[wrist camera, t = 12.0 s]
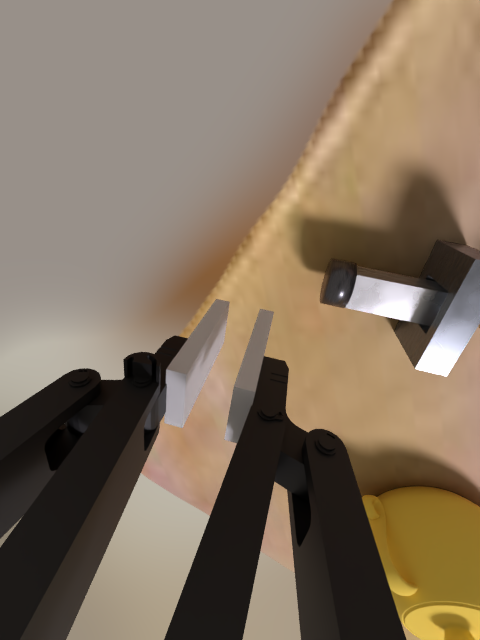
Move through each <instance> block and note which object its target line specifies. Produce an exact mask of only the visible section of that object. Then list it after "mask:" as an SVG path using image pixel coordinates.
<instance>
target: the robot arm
mask: <svg viewBox="0 0 480 640" xmlns="http://www.w3.org/2000/svg"><path fill="white" fill-rule="evenodd" d="M229 303H230V302H228V301H223V300H219V299H216V300H215V302H214V303H213V304H212V306H211V307H210V309H209V310H208V311H207V313H206V314H205V316H204V317H203V318H202V320H201V321H200V323H199V324H198V325H197V327H196V328H195V330H194V331H193V332H192V334H191V335H190V337H189V338H183V337H179V336H173V337H171V338H169V339H167V340H166V341H165V342H164V343H163V345H162V346H161V348H159V349H158V351H157V353H155V354H152V353H148V352H139V353H134V354H131V355H129V356H127V357H126V358H125V359H124V376H125V377H124V379H123V380H101V377H100V374H99V373H98V372H97V371H95V370H92V369H78V370H73V371H71V372H69V373H67V374H65V375H63V376H62V377H61V378H59V379H57V380H56V381H55V382H53V383H51V384H50V385H48V386H47V387H45V388H44V389H42V390H41V391H39V392H38V393H36V394H35V395H33V396H32V397H30V398H29V399H27V400H25V401H24V402H23V403H21V404H19V405H18V406H16V407H15V408H13V409H12V410H10V411H9V412H7V413H6V414H4V415H3V416H1V417H0V538H1V537H2V536H3V535H4V534H5V533H6V532H7V531H8V530H9V529H10V528H11V527H12V526H13V525H14V524H15V523H16V522H17V521H18V520H19V519H20V518H21V517H22V516H23V515H24V516H23V517H22V518H21V520H20V521H19V523H18V524H17V525H16V527H15V528H14V529H13V531H12V532H11V534H10V535H9V536H8V538H7V539H6V540H5V542H4V543H3V545H2V546H1V547H0V640H66V638H67V636H68V634H69V632H70V630H71V627H72V625H73V623H74V620H75V618H76V616H77V614H78V612H79V609H80V607H81V605H82V602H83V600H84V598H85V596H86V594H87V592H88V589H89V587H90V585H91V582H92V580H93V578H94V576H95V574H96V571H97V569H98V567H99V565H100V563H101V560H102V558H103V556H104V554H105V551H106V549H107V547H108V545H109V542H110V540H111V538H112V536H113V533H114V531H115V529H116V527H117V524H118V522H119V520H120V518H121V516H122V513H123V511H124V509H125V507H126V504H127V502H128V500H129V498H130V496H131V493H132V491H133V489H134V486H135V484H136V482H137V480H138V478H139V475H140V473H141V471H142V469H143V467H144V464H145V462H146V460H147V458H148V455H149V453H150V451H151V449H152V446H153V444H154V442H155V440H156V438H157V435H158V433H159V428H160V421H161V419H162V418H163V416H164V414H165V423H166V424H170V425H173V426H177V427H181V428H183V426H184V424H185V422H186V420H187V418H188V416H189V413H190V411H191V409H192V407H193V405H194V403H195V401H196V399H197V397H198V395H199V393H200V391H201V389H202V387H203V385H204V383H205V381H206V378H207V376H208V374H209V372H210V370H211V368H212V366H213V364H214V362H215V360H216V358H217V356H218V354H219V352H220V350H221V348H222V346H223V343H224V337H225V331H226V324H227V317H228V310H229ZM273 314H274V312H272V311H268V310H263V309H260V311H259V314H258V317H257V320H256V323H255V326H254V329H253V332H252V335H251V338H250V341H249V344H248V347H247V349H246V352H245V355H244V358H243V361H242V364H241V367H240V370H239V373H238V376H237V379H236V382H235V385H234V389H233V395H232V400H231V406H230V411H229V417H228V423H227V428H226V434H225V439H224V440H228V441H231V442H235V443H237V445H236V448H235V451H234V453H233V456H232V459H231V461H230V464H229V467H228V469H227V472H226V475H225V478H224V480H223V483H222V486H221V488H220V491H219V494H218V496H217V499H216V502H215V504H214V507H213V510H212V512H211V515H210V518H209V521H208V523H207V526H206V529H205V531H204V534H203V537H202V539H201V542H200V545H199V547H198V550H197V553H196V556H195V558H194V561H193V564H192V567H191V569H190V572H189V574H188V577H187V580H186V583H185V585H184V588H183V590H182V593H181V596H180V599H179V601H178V604H177V607H176V610H175V612H174V615H173V617H172V620H171V623H170V625H169V628H168V631H167V634H166V636H165V639H164V640H242V639H243V634H244V629H245V623H246V619H247V614H248V609H249V604H250V599H251V594H252V589H253V584H254V579H255V574H256V569H257V565H258V560H259V555H260V550H261V545H262V540H263V535H264V530H265V525H266V520H267V515H268V510H269V505H270V500H271V495H272V490H273V485H274V481H275V482H276V483H278V484H279V485H281V486H282V487H284V488H285V489H287V493H288V503H289V514H290V525H291V535H292V546H293V557H294V568H295V578H296V589H297V600H298V610H299V621H300V632H301V640H406V637H405V634H404V631H403V627H402V624H401V621H400V618H399V615H398V612H397V608H396V605H395V602H394V599H393V596H392V593H391V589H390V586H389V583H388V580H387V577H386V573H385V570H384V567H383V564H382V561H381V558H380V554H379V551H378V548H377V545H376V542H375V539H374V535H373V532H372V529H371V526H370V523H369V520H368V516H367V513H366V510H365V507H364V504H363V500H362V497H361V494H360V491H359V488H358V485H357V481H356V478H355V475H354V472H353V469H352V466H351V462H350V459H349V456H348V453H347V450H346V447H345V445H344V443H343V442H342V441H341V440H340V438H339V437H338V436H337V435H335V434H333V433H332V432H330V431H327V430H324V429H314V430H312V431H310V432H309V433H308V432H306V431H304V430H302V429H301V428H299V427H297V426H296V425H295V424H293V423H292V422H291V421H290V419H289V418H288V416H287V414H286V408H285V407H286V396H287V383H288V373H289V368H288V366H287V364H286V362H285V361H282V360H278V359H274V358H269V357H265V356H264V353H265V349H266V344H267V340H268V335H269V331H270V327H271V322H272V318H273ZM64 423H65V424H64Z"/></svg>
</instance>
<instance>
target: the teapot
mask: <svg viewBox="0 0 480 640" xmlns="http://www.w3.org/2000/svg"><path fill="white" fill-rule="evenodd" d="M362 500H363V504H364V507H365V510H366V513H367V516H368V520H369V523H370V526H371V529H372V532H373V535H374V539H375V542H376V545H377V548H378V551H379V554H380V558H381V561H382V564H383V567H384V570H385V573H386V577H387V580H388V583H389V586H390V589H391V593H392V596H393V599H394V602H395V605H396V608H397V612H398V615H399V618H400V621H401V622H402V623H403V625H404V626H405V627H406V628H407V629H408V630H409V631H410V632H411V633H412V634H413V635H415V636H416V637H418V638H420V639H422V640H480V507H479V506H478V505H476V504H474V503H473V502H471V501H469V500H467V499H466V498H463V497H461V496H459V495H457V494H455V493H453V492H450V491H447V490H443V489H439V488H433V487H424V486H411V487H402V488H397V489H393V490H390V491H387V492H385V493H383V494H381V495H379V496H378V497H376V496H373V495H365V496H363V497H362Z"/></svg>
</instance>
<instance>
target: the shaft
mask: <svg viewBox="0 0 480 640" xmlns="http://www.w3.org/2000/svg"><path fill="white" fill-rule="evenodd" d="M447 294H448V291H447V290H446V289H445V288H444V287H442V286H441V285H440V284H439V283H437V282H436V281H431V280H426V279H421V278H416V277H411V276H406V275H401V274H395V273H390V272H385V271H380V270H375V269H370V268H365V267H360V266H357V264H356V263H352V262H347V261H342V260H337V259H331V260H330V262H329V264H328V267H327V269H326V272H325V276H324V279H323V283H322V288H321V293H320V303H323V304H327V305H332V306H337V307H341V308H349V309H353V310H358V311H362V312H367V313H372V314H376V315H381V316H386V317H390V318H395V319H400V320H404V321H409V322H413V323H418V324H423V325H427V326H431V324H432V322H433V321H434V319H435V317H436V315H437V313H438V311H439V309H440V307H441V306H442V304H443V302H444V300H445V298H446V296H447Z"/></svg>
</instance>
